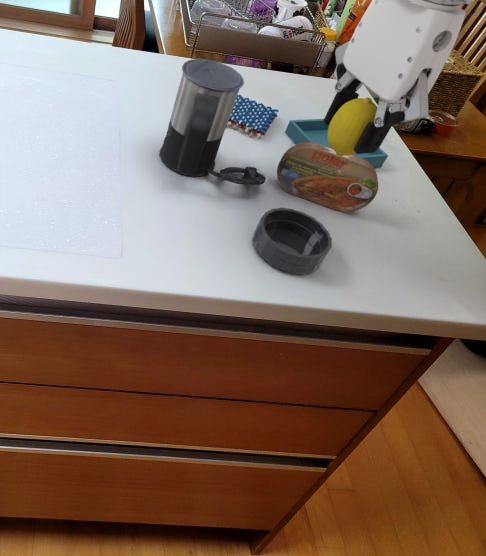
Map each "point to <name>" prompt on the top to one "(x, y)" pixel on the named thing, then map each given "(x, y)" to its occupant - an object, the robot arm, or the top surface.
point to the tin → (327, 177)
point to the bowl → (291, 240)
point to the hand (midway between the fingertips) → (349, 135)
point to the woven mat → (251, 116)
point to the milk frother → (204, 121)
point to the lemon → (350, 125)
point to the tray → (325, 138)
